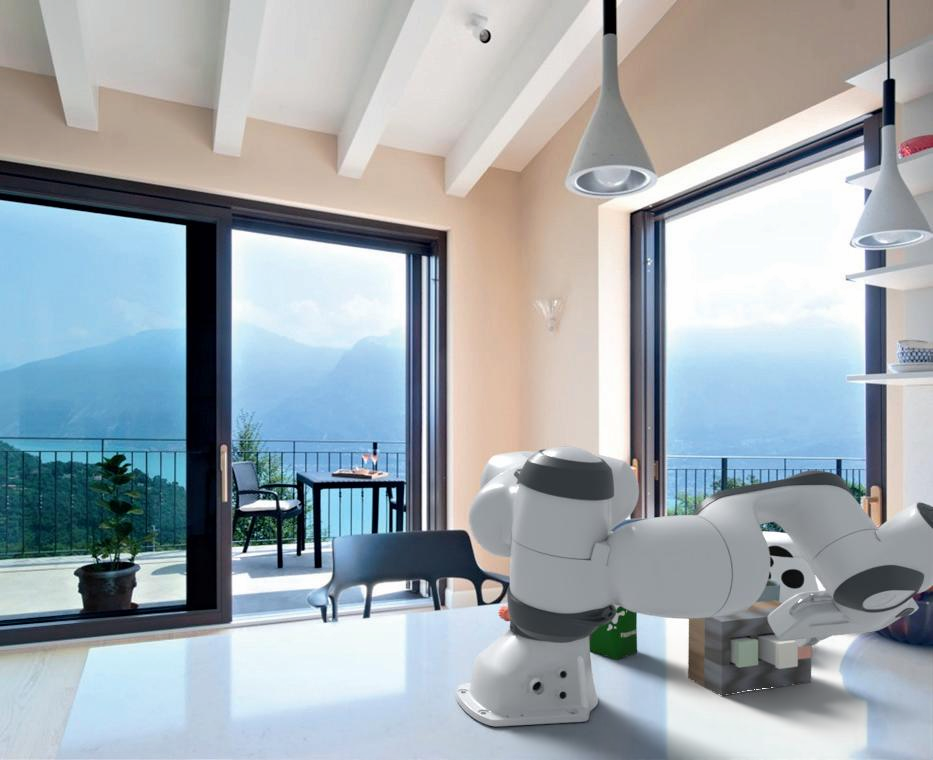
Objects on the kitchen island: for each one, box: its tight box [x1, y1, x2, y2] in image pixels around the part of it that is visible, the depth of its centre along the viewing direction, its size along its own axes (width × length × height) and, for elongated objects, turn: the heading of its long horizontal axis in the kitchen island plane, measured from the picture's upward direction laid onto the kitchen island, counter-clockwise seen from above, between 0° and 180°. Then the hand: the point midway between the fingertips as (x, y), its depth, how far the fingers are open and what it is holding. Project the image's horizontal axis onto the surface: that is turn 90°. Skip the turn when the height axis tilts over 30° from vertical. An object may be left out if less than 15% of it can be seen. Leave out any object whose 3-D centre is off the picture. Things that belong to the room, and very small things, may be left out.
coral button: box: [790, 640, 813, 659], centre depth 117 cm, size 4×5×4 cm
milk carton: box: [590, 604, 638, 661], centre depth 131 cm, size 9×9×20 cm
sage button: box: [730, 636, 758, 668], centre depth 112 cm, size 4×5×4 cm
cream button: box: [758, 634, 798, 669], centre depth 112 cm, size 4×5×4 cm
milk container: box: [762, 531, 820, 603], centre depth 163 cm, size 17×17×18 cm
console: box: [687, 600, 812, 696], centre depth 118 cm, size 20×8×12 cm, turn 112°
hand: (802, 641), depth 102 cm, fingers closed
